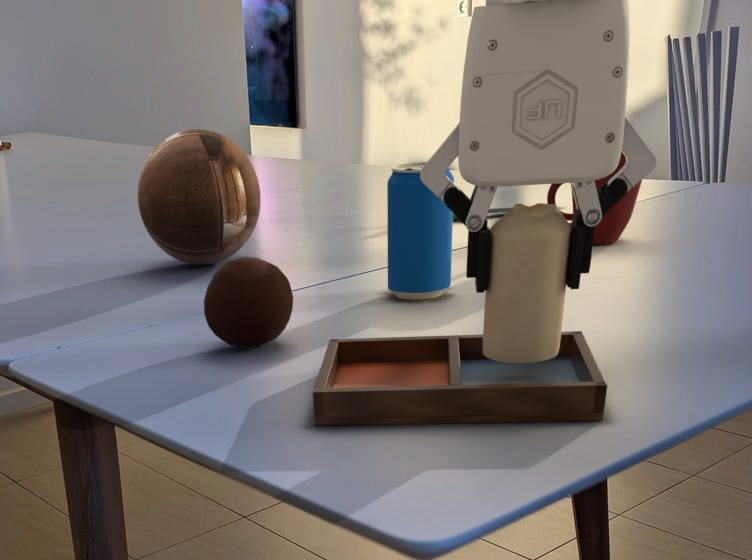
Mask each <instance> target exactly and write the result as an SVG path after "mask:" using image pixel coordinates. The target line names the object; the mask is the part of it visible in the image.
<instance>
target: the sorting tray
mask: <svg viewBox="0 0 752 560" xmlns="http://www.w3.org/2000/svg"><path fill="white" fill-rule="evenodd" d="M607 383H608V382H607V381H606V379H605V378H604V375H603V373H602V371H601V369H600V367H599V364H598V362H597V361H596V358H595V356H594V354H593V352H592V350H591V348H590V346H589V343H588V341H587V339H586V337H585V335H584V333H583V331H582V330H575V331H574V330H573V331H561V339H560V347H559V351H558V354H557V355H556V356H555V357H554V358H551V359H549V360H545V361H541V362H534V363H506V362H499V361H495V360H492V359H489V358H487V357H486V356H484V354H483V333H482V334H481V333H480V334H454V335H451V334H450V335H425V336H424V335H423V336H422V335H421V336H395V337H391V336H390V337H362V338H361V337H360V338H334V339H333V338H332V339H329V340H328V344H327V348H326V350H325V353H324V357H323V360H322V363H321V366H320V368H319V372H318V375H317V378H316V381H315V385H314V388H313V390H312V406H313V407H312V408H313V423H314V424H313V425H314V426H356V425H357V426H365V425H367V426H368V425H369V426H370V425H371V426H372V425H374V426H375V425H419V424H420V425H421V424H423V425H424V424H425V425H427V424H428V425H429V424H480V423H481V424H483V423H486V424H487V423H534V422H535V423H536V422H537V423H538V422H539V423H541V422H583V421H584V422H593V421H594V422H595V421H603V420H604V415H605V414H604V413H605V406H606V402H607V401H606V400H607V392H608V384H607Z"/></svg>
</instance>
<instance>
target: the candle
mask: <svg viewBox="0 0 752 560" xmlns="http://www.w3.org/2000/svg"><path fill="white" fill-rule="evenodd" d="M556 206H557V204H556V205H555V204H547V203H544V202H539V203H535V204H533V205H530V206H528V205H526V204H523V203H515V204H514V205H513V206H512V208H511V207H510V208H511V209H510V210H509V211H508V212H507V213H504V214H503V216H501V217H500V218H499V219H498V220H496V222H494V224H493V225H492V226H490V227H489V230H490V251H489V268H488V285H487V290H485V293H484V295H485V296H484V311H483V312H484V313H483V332H482V334H483V354H484V356H486V357H487V358H489V359H492V360H495V361H499V362H506V363H534V362H541V361H545V360H549V359H551V358H554V357H555V356H556V355H557V354H558V351H559V347H560V339H561V332H562V329H563V319H564V311H565V310H564V309H565V299H566V290H567V285H566V281H567V272H568V262H569V252H570V242H571V233H572V227H571V225H570V224H569V223H570V222H569V221H568V220H566V219H565V218H564V216H563V215H562V214H561V213H560V211H561V210H560V209H559V207H558V206H557V207H558V208H557V207H556ZM558 209H559V210H560V211H559V210H558Z"/></svg>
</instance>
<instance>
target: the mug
mask: <svg viewBox="0 0 752 560" xmlns="http://www.w3.org/2000/svg"><path fill="white" fill-rule="evenodd" d="M625 162H626V158H625V155H624V154H623V153H622V152H621V157H620V161H619V164H618V167H617V168H616V170H615V171H614V172H613V173H611V174H610V175H608V176H606V177H604V178H601V179H598V180H595V184H596V189H597V190H598V189H599V188H600V187H601V186H602V185H603V184H604V183H605V182H606V181H607V180H608V179H609V178H611V177H613V176H614V175H615V174H616V173H618V172H619V170H620V169H621V168H622V167H623V166H624V165H625ZM642 182H643V179H642V180H641V181H640V182H638V183H637V184H636V185H635V186H634V187H632V188H631V189H630V190H629V191H628V192H627V193H626V194H625V196H624V197H623V198H622V199H621V200H620V201H619V202H618V203H617V204H616V205H614V206H613V207H612V208H611V209H610V210H609V211H608V212H607V213H606V214H605V215H604V216H603V217H602V219H601V221H600V222H599V223H598V224H597V225H596V226H595V230H594V239H593V246H605V245H610V244H612V245H613V244H615V243H617V242H618V240H619V239H620V237H621V236H622V234H623V232H624V231H625V229H626V228H627V226H628V224H629V223H630V220H631V218H632V215H633V212H634V209H635V206H636V202H637V199H638V195H639V192H640V188H641V186H642ZM564 184H565V183H558V184H550V186H549V188H548V191H547V196H546V204H555V205H556V207H558V206H557V203H556V196H557V192H558V190H559V188H560V187H561V186H562V185H564ZM570 188H571V199H572V200H571V201H572V213H568V212H564V211H562V210H560V209H559V208H558V210H559V211H560V213H561V214H562V215H563V216H564V218H565V219H566V220H567V221H570V222H572V219H574V213H575V212H576V211H577V207H576V202H575V198H574V194H573V190H572V185H571V184H570Z"/></svg>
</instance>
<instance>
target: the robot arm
mask: <svg viewBox="0 0 752 560" xmlns="http://www.w3.org/2000/svg"><path fill="white" fill-rule="evenodd" d="M629 4H630V3H629V0H485V5H480V6H479V5H478V6H474V8H473V12H472V16H471V20H470V23H469V29H468V36H467V42H466V51H465V58H464V64H463V65H464V66H463V72H462V73H463V74H462V84H461V94H460V110H459V122H458V123H457V124H456V126H455V127H454V128H453V129H452V131H451V132H450V133H449V135H448V136H447V137H446V138H445V140H444V141H443V142H442V143H441V144H440V145H439V147H438V149H437V150H436V151H435V152H434V153H433V154H432V155H431V157H430V158H429V159H428V161H426V162H427V163H426V165H425V166H424V167H423V168H422V170H421V173H420V179H421V181H422V183H423V184H424V185H426V186H427V187H428V188H429V189H430V190H431V191H432V192H433V193H434V194H435V195H436V196H437V197H439V198H440V199H441V200H442V201H443V202H444V203H445V205H446V206H447V207H448V208H449V209H450V210H451V211H452V212H453V213H454V214H455V215H456V217H457V218H458V219H459V220H460V222H461V223H462V224H463V225H464V226H465V228H466V229H467V250H466V251H467V252H466V254H467V255H466V271H465V272H466V276H465V277H466V279H475V281H474V285H475V290H476V291H475V292H476V293H477V294H479V293H481V294H483V293H485V291H486V290H487V285H488V268H489V251H490V230H489V229H490V227H489V226H488V217H487V215H488V214H487V213H488V211H489V209H491V205H492V203H493V201H494V198H495V195H496V192H497V190H498V187H516V186H517V187H518V186H537V185H539V186H540V185H551V184H558V183H564V184H570V186H571V185H572V189H571V191H572V190H573V194H574V198H575V202H576V207H577V211H576V212H575V213H574V219H572V221H571V222H568V223H569V224H570V225H571V227H572V233H571V242H570V252H569V262H568V272H567V281H566V288H569V289H570V290H579V289H580V285H581V275H582V274H589V273H590V269H591V263H592V254H593V246H594V245H593V239H594V230H595V226H596V225H597V224H598V223H599V222H600V221H601V219H602V217H603V216H604V215H605V214H606V213H607V212H608V211H609V210H610V209H611V208H612V207H613V206H614V205H616V204H617V203H618V202H619V201H620V200H621V199H622V198H623V197H624V196H625V194H626V193H627V192H628V191H629V190H630V189H631V188H632V187H634V186H635V185H636V184H637V183H638V182H640V181H641V180H642V181H643V179H644V178H646V177H647V176H648V174H649V175H650V173H651V172H652V171H654V169H655V168H656V167H657V166H656V165H657V159H656V157H655V155H654V154H653V152H652V151H651V150H650V149H649V147H648V146H647V144H646V143H645V142H644V140H643V139H642V138H641V136H640V135H639V134H638V132H637V131H636V130H635V128H634V127H633V126H632V124H631V123H630V122H629V120H628V119H627V118H626V112H627V111H626V109H627V98H628V86H629V85H628V83H629V67H630V5H629ZM621 152H622V153H623V154H624V155H625V158H626V162H625V165H624V166H623V167H622V168H621V169H620V170H619V172H618V173H616V174H615V175H614V176H613V177H611V178H609V179H608V180H607V181H606V182H605V183H604V184H603V185H602V186H601V187H600V188H599V189H598V190H597V189H596V184H595V180H598V179H601V178H604V177H606V176H608V175H610V174H611V173H613V172H614V171H615V170H616V168H617V167H618V164H619V161H620V157H621ZM456 159H457V160H458V163H457V164H458V171H459V174H460V176H461V178H462V179H463V180H464V181H465V182H467V183H468V184H470V185H472V186H474V187H473V190H472V192H471V196H470V198H469V196H468V195H467V194H466V193H465V192H464V191H463V190H462V189H461V188H460V187H459V186H457V185H456V184H455V182H454V183H453V182H452V181H451V180H450V179H449V178H448V177H447V175H446V170H447V169H448V167H449V166H450V167H451V165H452V164H453V162H454V161H455V160H456ZM450 167H449V168H450Z"/></svg>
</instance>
